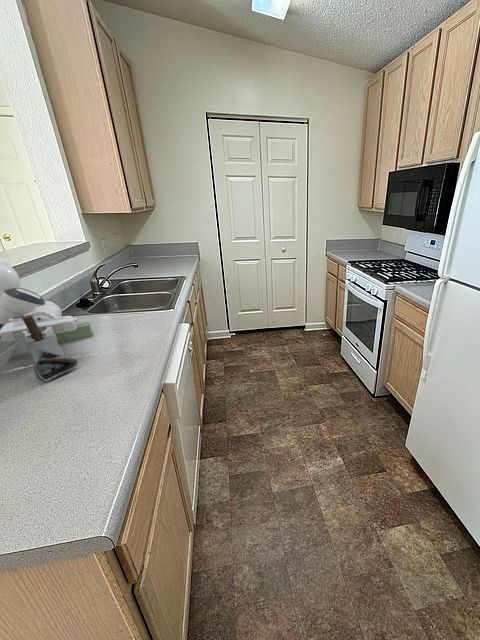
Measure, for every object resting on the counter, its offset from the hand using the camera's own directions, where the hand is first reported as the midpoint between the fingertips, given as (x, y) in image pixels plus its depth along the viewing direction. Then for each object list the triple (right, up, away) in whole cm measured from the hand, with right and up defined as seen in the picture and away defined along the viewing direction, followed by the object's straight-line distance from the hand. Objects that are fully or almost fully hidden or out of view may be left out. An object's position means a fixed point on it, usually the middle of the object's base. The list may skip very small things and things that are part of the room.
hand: (36, 336), depth 103 cm
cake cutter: (0, -7, +5) cm, 9 cm away
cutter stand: (-10, +1, +33) cm, 34 cm away
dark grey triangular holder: (+1, -12, +7) cm, 14 cm away
